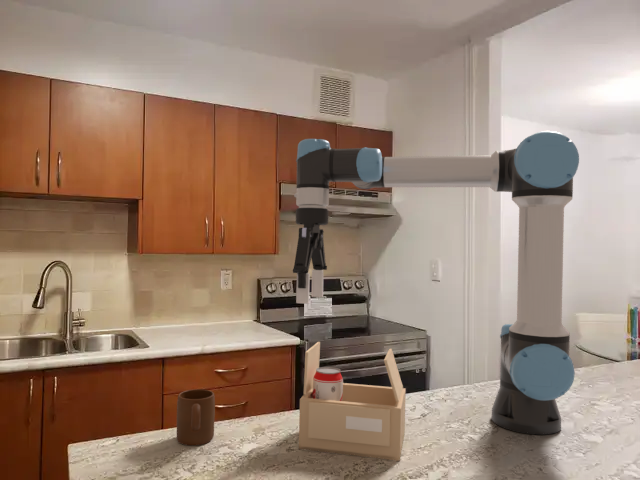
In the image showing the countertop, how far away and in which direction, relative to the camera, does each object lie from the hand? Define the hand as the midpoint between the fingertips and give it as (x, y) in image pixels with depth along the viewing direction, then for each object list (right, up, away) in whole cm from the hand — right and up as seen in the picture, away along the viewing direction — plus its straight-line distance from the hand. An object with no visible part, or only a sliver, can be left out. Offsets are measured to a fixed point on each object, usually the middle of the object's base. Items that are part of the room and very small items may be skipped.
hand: (310, 300), depth 118 cm
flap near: (+17, -14, -13) cm, 26 cm away
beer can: (+3, -29, -11) cm, 32 cm away
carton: (+9, -28, -11) cm, 32 cm away
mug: (-23, -28, -14) cm, 39 cm away
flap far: (+1, -13, -9) cm, 16 cm away
